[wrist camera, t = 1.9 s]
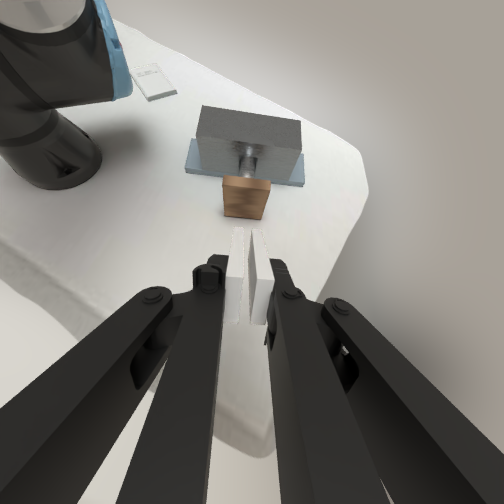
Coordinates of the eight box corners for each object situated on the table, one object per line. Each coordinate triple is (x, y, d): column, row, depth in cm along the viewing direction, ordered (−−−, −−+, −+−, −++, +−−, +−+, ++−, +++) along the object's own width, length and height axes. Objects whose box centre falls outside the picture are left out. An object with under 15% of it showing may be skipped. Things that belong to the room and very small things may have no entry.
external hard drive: (149, 104, 48) (130, 76, 51) (178, 95, 50) (158, 69, 53) (146, 97, 46) (127, 68, 49) (176, 89, 48) (156, 62, 51)
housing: (186, 172, 42) (173, 131, 32) (192, 143, 44) (182, 98, 35) (302, 186, 44) (321, 152, 35) (301, 158, 47) (318, 120, 37)
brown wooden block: (224, 215, 39) (222, 184, 29) (229, 173, 42) (229, 133, 33) (261, 219, 39) (270, 190, 30) (262, 177, 43) (271, 139, 34)
